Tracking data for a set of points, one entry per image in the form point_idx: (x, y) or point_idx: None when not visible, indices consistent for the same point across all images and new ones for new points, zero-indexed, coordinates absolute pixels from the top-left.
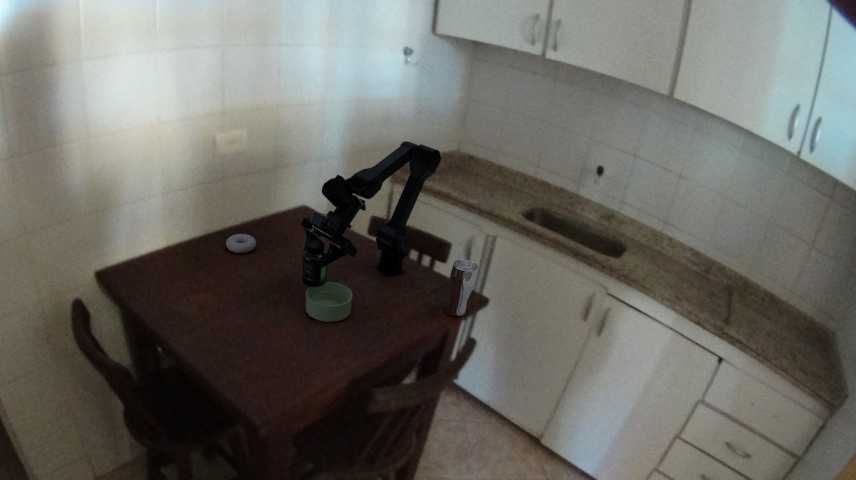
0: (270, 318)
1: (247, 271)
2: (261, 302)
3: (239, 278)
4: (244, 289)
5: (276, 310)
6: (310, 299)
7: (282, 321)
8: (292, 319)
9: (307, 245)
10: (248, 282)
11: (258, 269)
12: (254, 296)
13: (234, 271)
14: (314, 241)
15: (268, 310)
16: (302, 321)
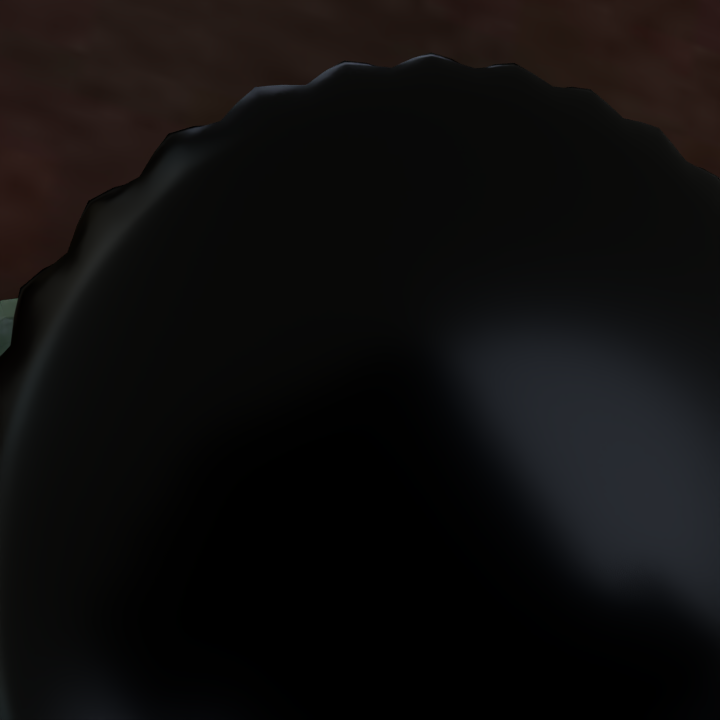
0: (109, 49)
1: (695, 88)
2: (331, 57)
3: (627, 17)
4: (503, 4)
5: (208, 122)
6: (7, 310)
7: (47, 118)
8: (58, 196)
9: (415, 65)
10: (577, 54)
11: (709, 159)
12: (412, 37)
13: (704, 15)
14: (703, 497)
15: (220, 69)
16: (11, 260)
